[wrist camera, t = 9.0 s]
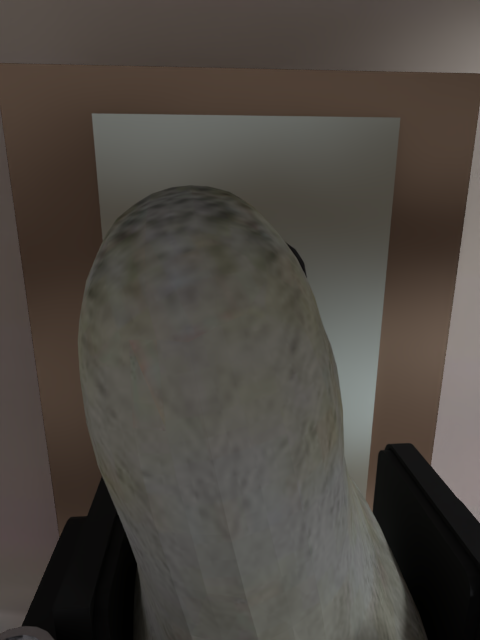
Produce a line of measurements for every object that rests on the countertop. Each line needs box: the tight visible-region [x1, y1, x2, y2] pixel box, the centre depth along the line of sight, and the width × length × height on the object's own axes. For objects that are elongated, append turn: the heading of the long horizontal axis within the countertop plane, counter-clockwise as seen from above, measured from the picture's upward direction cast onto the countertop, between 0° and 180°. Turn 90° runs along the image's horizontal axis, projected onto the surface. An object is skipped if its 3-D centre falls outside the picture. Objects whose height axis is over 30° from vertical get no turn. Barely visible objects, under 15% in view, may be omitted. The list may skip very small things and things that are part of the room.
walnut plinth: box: [0, 63, 480, 537], centre depth 14 cm, size 20×11×4 cm, turn 0°
